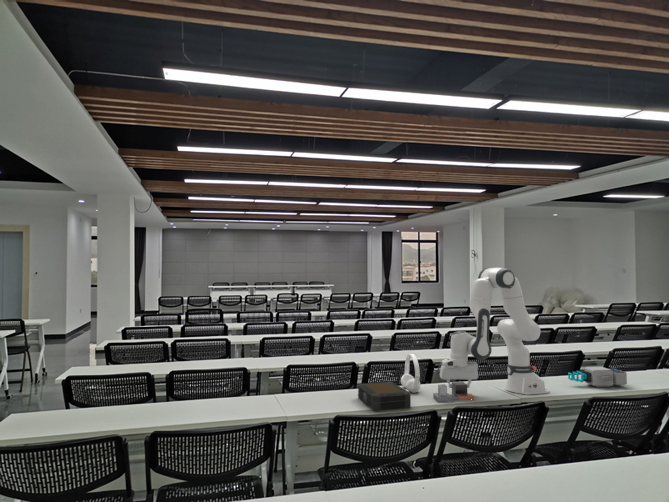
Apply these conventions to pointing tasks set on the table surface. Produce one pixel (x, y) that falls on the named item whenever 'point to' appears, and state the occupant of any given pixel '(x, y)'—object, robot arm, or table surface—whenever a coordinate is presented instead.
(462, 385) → the dark grey cube
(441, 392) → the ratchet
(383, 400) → the cash box
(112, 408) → the table surface
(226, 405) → the table surface
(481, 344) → the robot arm
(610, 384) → the toy
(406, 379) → the headphones
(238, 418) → the table surface
